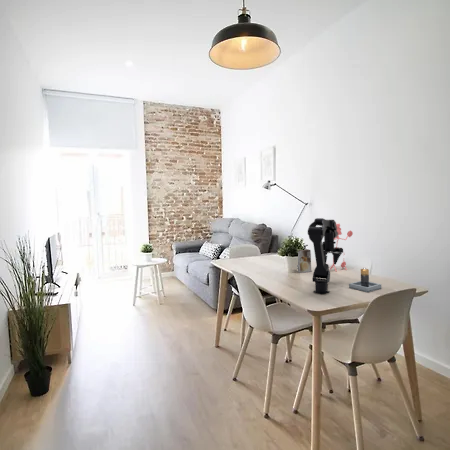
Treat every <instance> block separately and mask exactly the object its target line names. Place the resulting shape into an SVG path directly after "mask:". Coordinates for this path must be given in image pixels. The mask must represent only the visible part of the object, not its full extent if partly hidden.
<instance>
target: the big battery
mask: <svg viewBox="0 0 450 450" xmlns="http://www.w3.org/2000/svg"><path fill="white" fill-rule="evenodd" d="M360 281H361V286H364V287H369V282H370V269H369V268H366V267H363V268H361V269H360Z"/></svg>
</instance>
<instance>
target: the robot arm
mask: <svg viewBox="0 0 450 450" xmlns="http://www.w3.org/2000/svg"><path fill="white" fill-rule="evenodd" d="M336 224H337V222H336V221H335V219H325V218H324V217H323V218H322V217H321V218H320V217H319V218H318V217H317V218H314V221H312V223H310V224H309V226H308V229H307V235H308V238H309V241H311V242H312V243H313V250H314V251H313V252H314V257H315V264H316V266H315V268H314V271H313V274H312V280H311V281H312V282H313V283H315V284H314V285H315V290H313V293H317V294H320V295H325V294H328V293H330V290H329V288H328V283H330V281H331V270H330V268H329V264H328V263H327V259H328V254H332V261H333V260H334V265H336V264H337V263H338V261H339V258H340V257H341V255H343V254H344V248H343V247H338V246H337V247H336V246H335V245H336V244H337V241H335V240H334V238H335V239H336V237H337V236H338V232H337V226H336Z"/></svg>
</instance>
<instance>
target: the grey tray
mask: <svg viewBox="0 0 450 450" xmlns="http://www.w3.org/2000/svg"><path fill="white" fill-rule="evenodd" d="M348 288H349V289H352V290H357V291H360V292H365V293H370V292H375V291H377V290H381V289H382V284H381V283H376V282H372V281H369V287H364V286H361V280H359V281H354V282H350V283H348Z"/></svg>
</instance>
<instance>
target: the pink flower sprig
mask: <svg viewBox="0 0 450 450" xmlns="http://www.w3.org/2000/svg"><path fill="white" fill-rule="evenodd" d="M336 226H337V232H338V236H337V237H336V238H334V241H335V240H336V244H335V247H338V243H339V240H344V241H346V240H347V239H348V238H351V237H352V236H353V234H354V233H353V231H352V230H349V231H347V236H346V238H340V236H341V235H343V233H342V228H341V224H340V223H336ZM346 265H347V262H346V261H345V259H342V262H341V264H340V267H341V268H342V269H344V268H345V271H347V270H348V269H347V267H346ZM333 268H334V270H335V272H337V269H336V264H334V260H333V259H332V265H331V266H330V267H329V271H331V270H332V269H333ZM352 269H354V268H352Z"/></svg>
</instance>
